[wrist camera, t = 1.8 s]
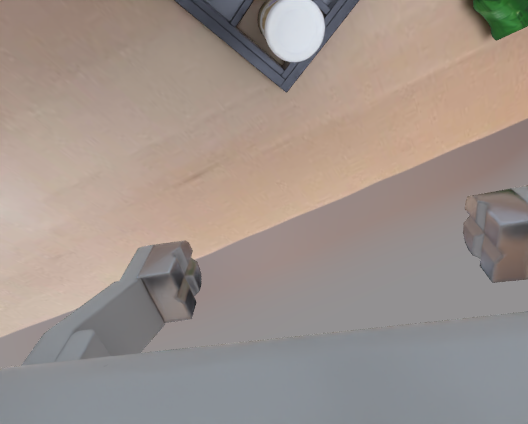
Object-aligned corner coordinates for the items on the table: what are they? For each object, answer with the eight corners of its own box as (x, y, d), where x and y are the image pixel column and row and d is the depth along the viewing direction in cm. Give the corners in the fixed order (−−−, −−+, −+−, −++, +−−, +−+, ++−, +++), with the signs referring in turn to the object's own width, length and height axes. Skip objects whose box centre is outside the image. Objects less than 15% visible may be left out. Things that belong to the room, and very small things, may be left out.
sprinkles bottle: (282, -15, 36) (303, -21, 25) (307, 24, 38) (337, 36, 27) (248, 16, 38) (253, 25, 26) (274, 52, 40) (289, 76, 28)
